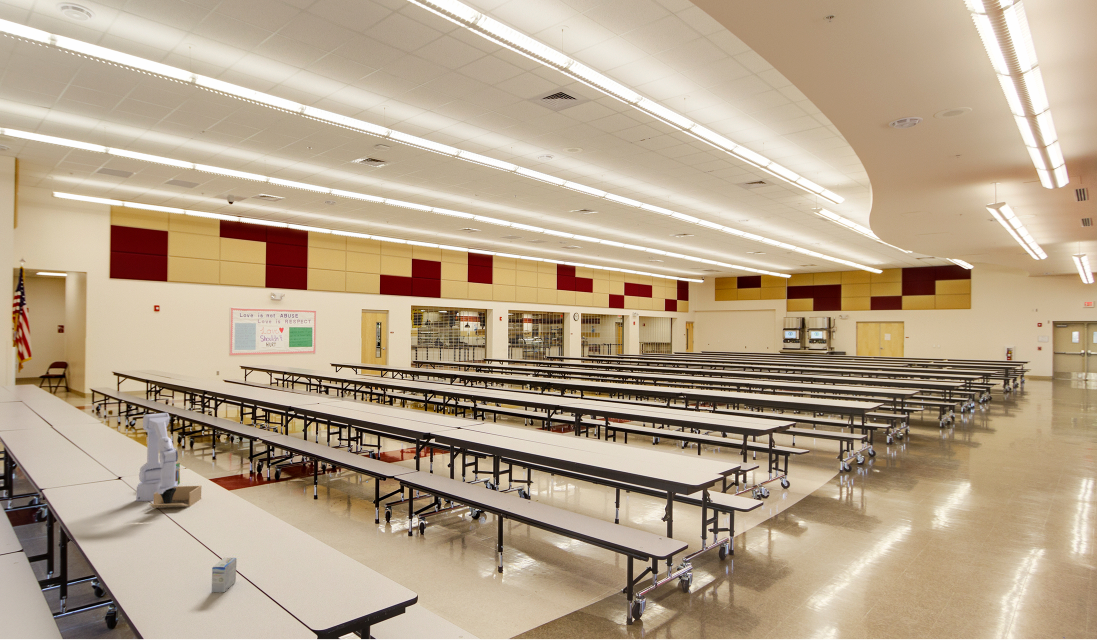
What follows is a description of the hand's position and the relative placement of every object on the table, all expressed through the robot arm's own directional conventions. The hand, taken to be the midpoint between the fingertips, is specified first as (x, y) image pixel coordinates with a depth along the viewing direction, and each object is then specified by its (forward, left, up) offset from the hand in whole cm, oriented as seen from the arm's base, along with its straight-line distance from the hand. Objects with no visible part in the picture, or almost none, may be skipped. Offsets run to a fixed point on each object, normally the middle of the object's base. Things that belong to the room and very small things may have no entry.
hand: (167, 504), depth 263 cm
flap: (0, +4, -2) cm, 5 cm away
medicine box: (+56, -84, -3) cm, 101 cm away
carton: (0, +10, -3) cm, 11 cm away
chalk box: (-21, +44, -3) cm, 49 cm away
